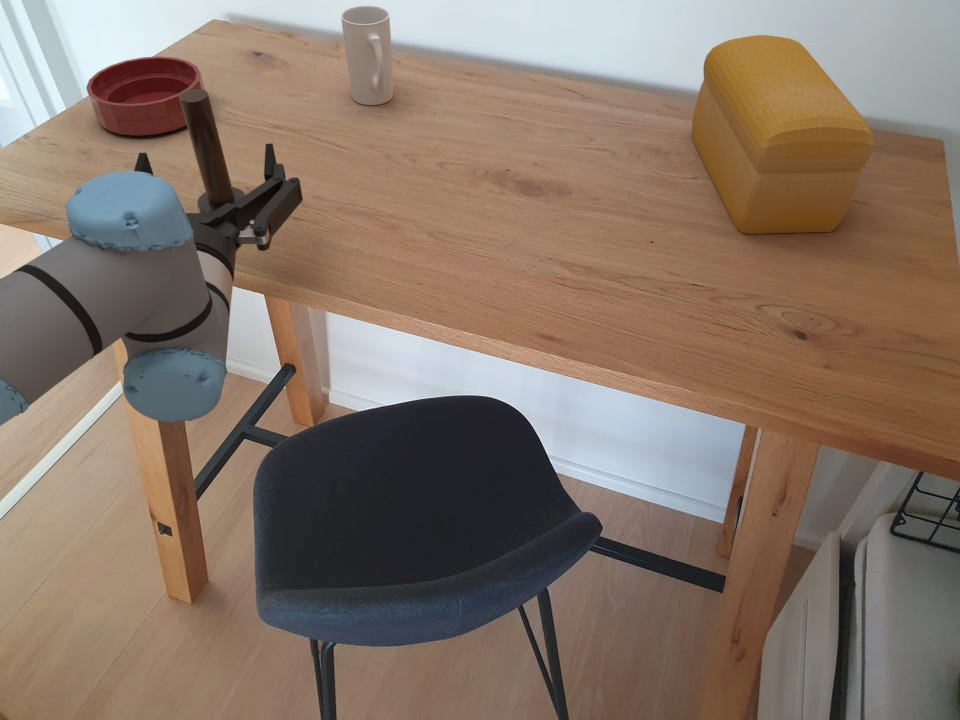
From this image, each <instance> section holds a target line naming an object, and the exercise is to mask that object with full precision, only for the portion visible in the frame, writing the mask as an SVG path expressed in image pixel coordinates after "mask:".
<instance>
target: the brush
mask: <svg viewBox="0 0 960 720" xmlns="http://www.w3.org/2000/svg"><path fill="white" fill-rule="evenodd" d="M179 100H180V103H181V107H182V110H183V114H184V117H185V121H186V124H187V125H186V127H187V131H188V135H189V138H190V142H191V145H192V149H193V152H194V155H195V159H196V163H197V166H198V169H199V173H200V177H201V180H202V184H203V187H204V191H205V192H203V193H202V194H201V195H200V196H199V197H198V199H197V202H196V206H197V208H198V211H199V212H198V213H201V212H205V211H216V210H217V209H219V208H220V207H222V206H223V205H225V204H226V203H229V204H233V203H235V202H236V201H238V200H239V199H241V198H242V197H244V196H245V195H246V193H245V192H244V191H243V190H242V189H240V188H237V187H234V186H233V185H232V182H231V179H230V174H229V171H228V166H227V162H226V158H225V155H224V154H225V153H224V150H223V147H222V143H221V139H220V134H219V131H218V127H217V123H216V119H215V115H214V111H213V107H212V103H211V98H210V96H209V92H208V91H207V90H206V89H205V90H202V89H191V90H187V91H185V92H183V93H181V94H180V95H179ZM226 219H227V220H228V218H226Z"/></svg>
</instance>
